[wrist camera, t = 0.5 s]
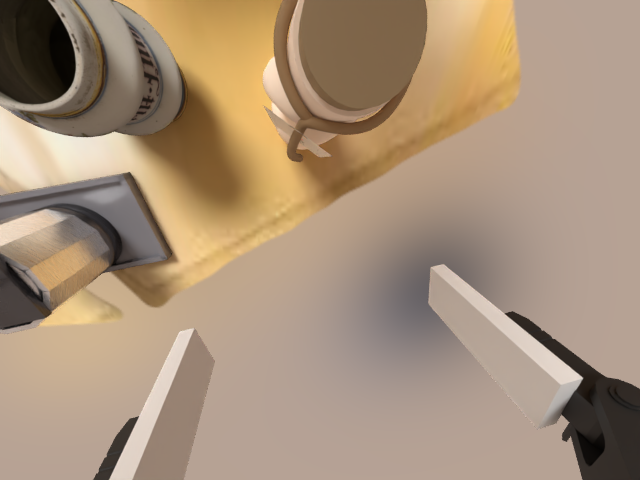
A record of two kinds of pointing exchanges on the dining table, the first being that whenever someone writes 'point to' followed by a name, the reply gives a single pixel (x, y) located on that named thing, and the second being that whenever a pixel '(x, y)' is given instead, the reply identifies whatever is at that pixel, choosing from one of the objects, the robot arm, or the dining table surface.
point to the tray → (102, 213)
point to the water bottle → (340, 67)
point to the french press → (51, 260)
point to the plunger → (28, 281)
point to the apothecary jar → (87, 68)
